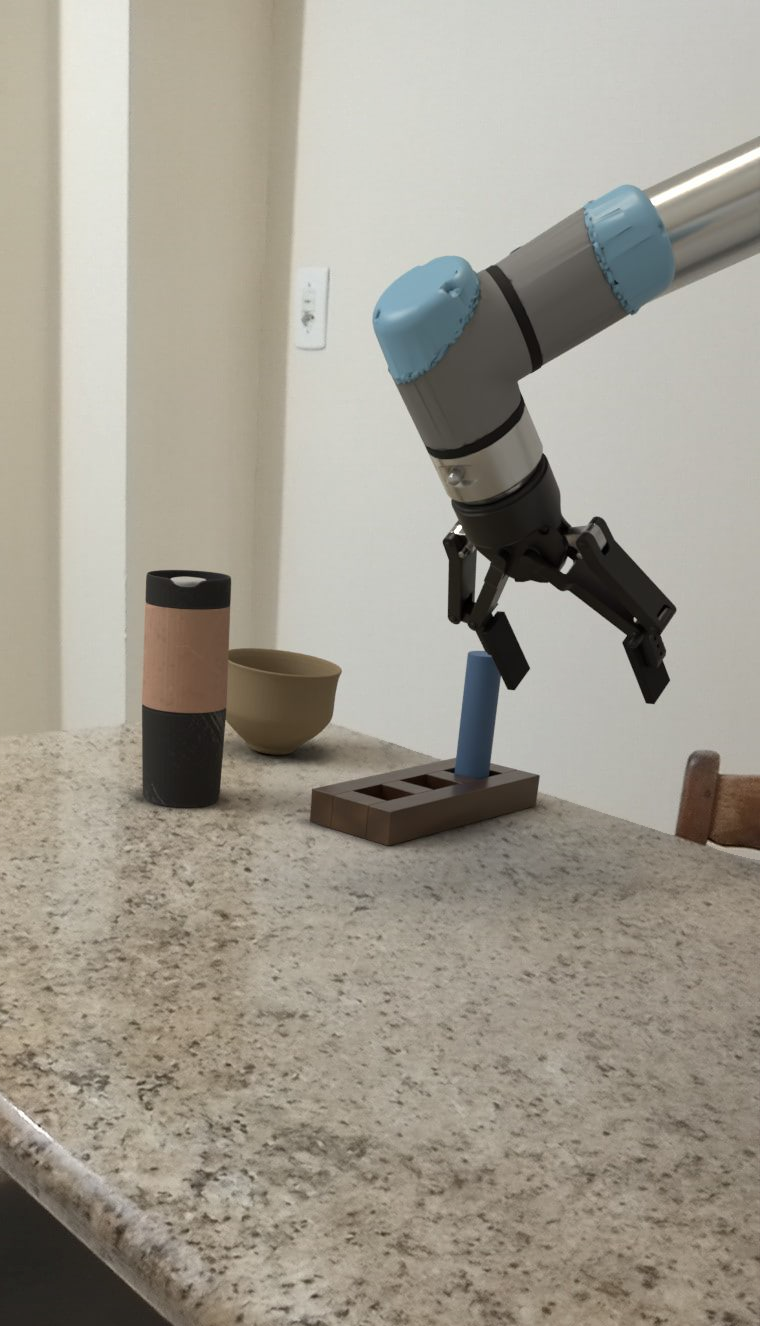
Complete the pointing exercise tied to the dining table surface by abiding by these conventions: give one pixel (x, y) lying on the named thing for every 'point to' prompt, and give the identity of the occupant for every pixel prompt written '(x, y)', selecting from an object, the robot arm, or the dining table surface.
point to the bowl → (279, 697)
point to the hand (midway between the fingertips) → (585, 685)
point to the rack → (420, 801)
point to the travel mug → (184, 686)
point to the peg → (477, 716)
